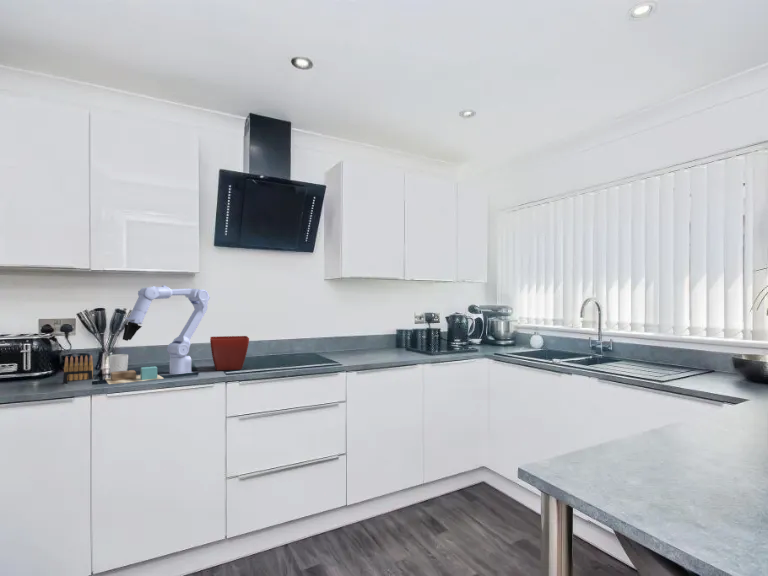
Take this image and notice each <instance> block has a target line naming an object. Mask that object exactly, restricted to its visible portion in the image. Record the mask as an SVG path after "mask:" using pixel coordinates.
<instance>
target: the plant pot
mask: <svg viewBox="0 0 768 576" xmlns="http://www.w3.org/2000/svg"><path fill="white" fill-rule="evenodd" d="M209 338H210V341H209V343H210V349H211V350H210V351H211V356H212V362H213V366H214V368H215V371H232V370H233V371H234V370H237V371H238V370H243V366H244V364H245V360H246V358H247V357H246V356H247V354H248V348H249V345H250V344H249V343H250V338H249V337H248V335H231V336H229V335H228V336H227V335H226V336H210V337H209Z"/></svg>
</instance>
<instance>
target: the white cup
mask: <svg viewBox="0 0 768 576" xmlns="http://www.w3.org/2000/svg"><path fill="white" fill-rule="evenodd" d="M108 358H109V359H108V362H109V363H108V364H109V375H110V376H111V372H118V371H128V368H129V367H128V365H129V354H128V353H127V354H126V353H120V354H119V353H118V354H117V353H116V354H111V355H109V356H108Z"/></svg>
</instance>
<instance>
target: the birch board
mask: <svg viewBox="0 0 768 576" xmlns="http://www.w3.org/2000/svg"><path fill="white" fill-rule="evenodd" d="M163 379H165V378H164V377H163V376H161V375H160V374H158V373H157V379H148V380H141V379H140V374H136V379H128V380H118V381H112V380H111V377H105V378H104V380H105V381H106V383H107V384H108V385H114V384H115V385H117V384H126V383H137V382H145V381H153V380H156V381H157V380H163Z"/></svg>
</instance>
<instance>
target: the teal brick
mask: <svg viewBox="0 0 768 576" xmlns="http://www.w3.org/2000/svg"><path fill="white" fill-rule="evenodd" d="M157 374H158V367H157V366H155V365H154V366H144V367H143V366H142V367H140V374H139V375H140V379H141V380H146V381H149V380H148V379H156V380H158V379H157Z"/></svg>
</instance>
